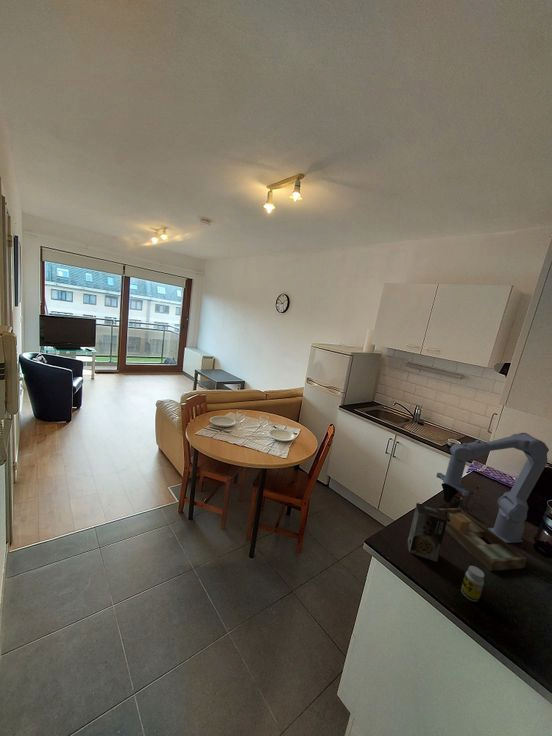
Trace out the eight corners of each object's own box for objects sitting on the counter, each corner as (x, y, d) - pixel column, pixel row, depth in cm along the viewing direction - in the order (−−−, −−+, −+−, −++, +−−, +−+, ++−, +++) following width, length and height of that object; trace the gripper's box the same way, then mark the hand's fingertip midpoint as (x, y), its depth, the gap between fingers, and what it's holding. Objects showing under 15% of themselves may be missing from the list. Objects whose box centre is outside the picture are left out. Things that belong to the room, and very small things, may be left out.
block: (458, 523, 119) (460, 514, 119) (467, 530, 115) (470, 521, 114) (449, 523, 118) (452, 514, 117) (459, 531, 114) (461, 522, 113)
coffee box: (433, 550, 104) (443, 510, 102) (437, 562, 98) (448, 521, 96) (406, 540, 107) (416, 501, 105) (408, 552, 101) (419, 511, 99)
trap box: (458, 515, 129) (460, 508, 129) (524, 567, 102) (527, 558, 102) (429, 516, 125) (431, 508, 125) (490, 571, 98) (493, 561, 98)
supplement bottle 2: (456, 587, 89) (463, 563, 88) (470, 588, 90) (477, 564, 89) (468, 602, 85) (475, 577, 83) (482, 602, 85) (490, 578, 84)
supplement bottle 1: (462, 513, 131) (468, 491, 129) (448, 510, 132) (454, 488, 130) (456, 506, 137) (462, 484, 135) (443, 502, 138) (449, 481, 136)
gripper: (434, 463, 127) (426, 491, 129) (462, 481, 113) (453, 512, 115) (446, 463, 129) (439, 491, 131) (475, 481, 115) (467, 512, 117)
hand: (446, 501), depth 123 cm, fingers closed
